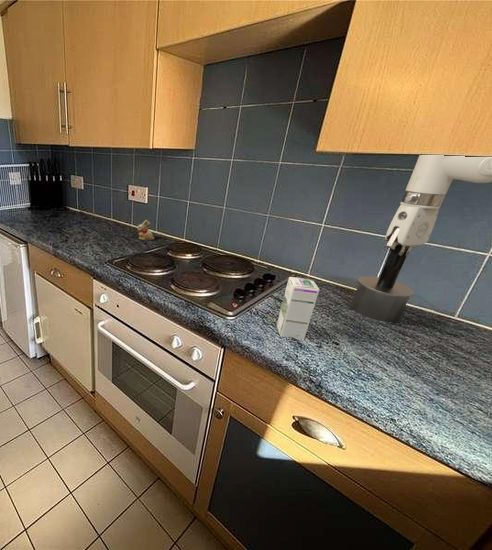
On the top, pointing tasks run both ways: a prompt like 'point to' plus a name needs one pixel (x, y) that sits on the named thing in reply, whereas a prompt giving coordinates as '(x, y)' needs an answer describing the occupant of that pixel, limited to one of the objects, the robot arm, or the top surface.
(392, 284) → the canister lid
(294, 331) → the syrup box
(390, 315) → the canister
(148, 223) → the chocolate bunny
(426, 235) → the robot arm
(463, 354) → the top surface
